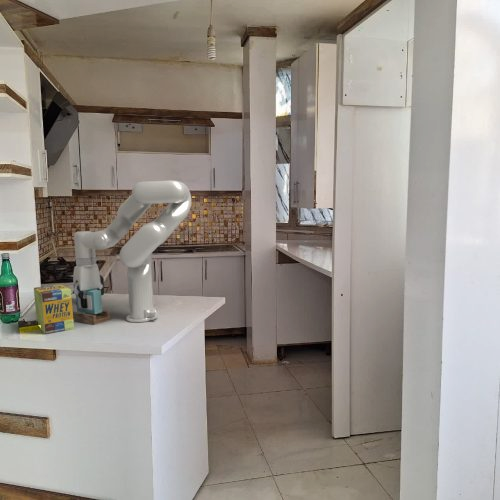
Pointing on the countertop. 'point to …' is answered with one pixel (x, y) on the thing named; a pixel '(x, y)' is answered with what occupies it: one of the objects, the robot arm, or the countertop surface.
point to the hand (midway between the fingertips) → (89, 306)
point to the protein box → (54, 308)
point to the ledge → (91, 317)
